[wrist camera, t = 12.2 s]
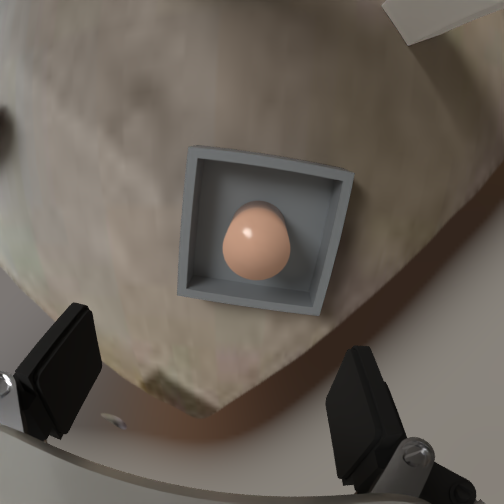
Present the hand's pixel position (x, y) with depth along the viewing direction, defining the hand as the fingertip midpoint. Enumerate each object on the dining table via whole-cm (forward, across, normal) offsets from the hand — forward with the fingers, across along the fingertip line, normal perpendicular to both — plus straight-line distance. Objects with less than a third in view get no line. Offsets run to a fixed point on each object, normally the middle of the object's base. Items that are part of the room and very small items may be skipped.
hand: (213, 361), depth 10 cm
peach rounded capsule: (+24, -2, +3) cm, 25 cm away
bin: (+25, -2, +3) cm, 25 cm away
